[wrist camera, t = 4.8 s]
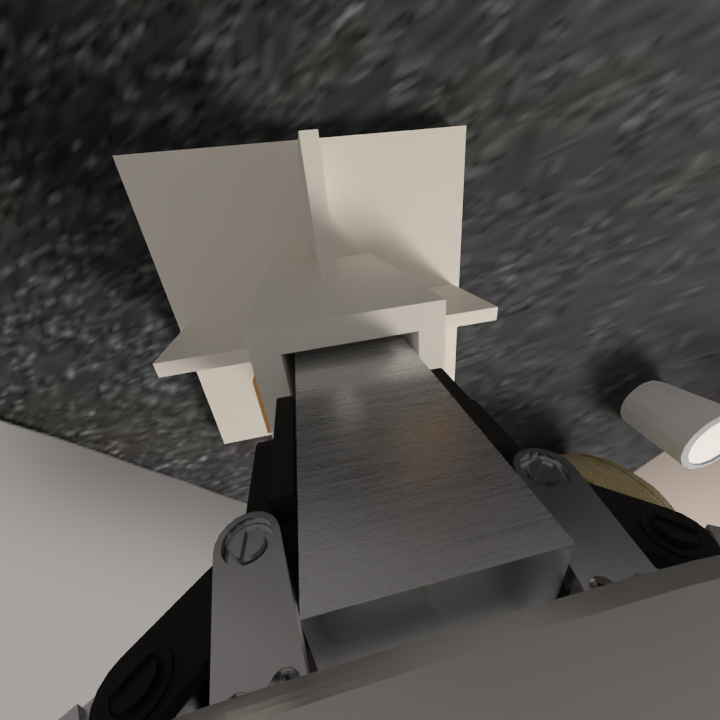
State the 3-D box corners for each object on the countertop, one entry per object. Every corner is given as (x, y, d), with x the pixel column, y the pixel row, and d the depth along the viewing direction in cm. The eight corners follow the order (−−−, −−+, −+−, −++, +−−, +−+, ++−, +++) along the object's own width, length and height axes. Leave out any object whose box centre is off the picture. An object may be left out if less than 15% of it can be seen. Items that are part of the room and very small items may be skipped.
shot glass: (603, 420, 36) (668, 464, 30) (644, 368, 33) (724, 405, 27) (641, 430, 38) (708, 474, 32) (681, 383, 36) (763, 420, 29)
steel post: (293, 289, 20) (295, 619, 4) (356, 279, 20) (579, 541, 5) (304, 347, 22) (337, 728, 6) (362, 337, 22) (534, 665, 6)
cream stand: (125, 159, 18) (-207, 67, 6) (455, 130, 20) (683, 25, 8) (227, 432, 27) (177, 610, 15) (446, 389, 30) (550, 513, 18)
